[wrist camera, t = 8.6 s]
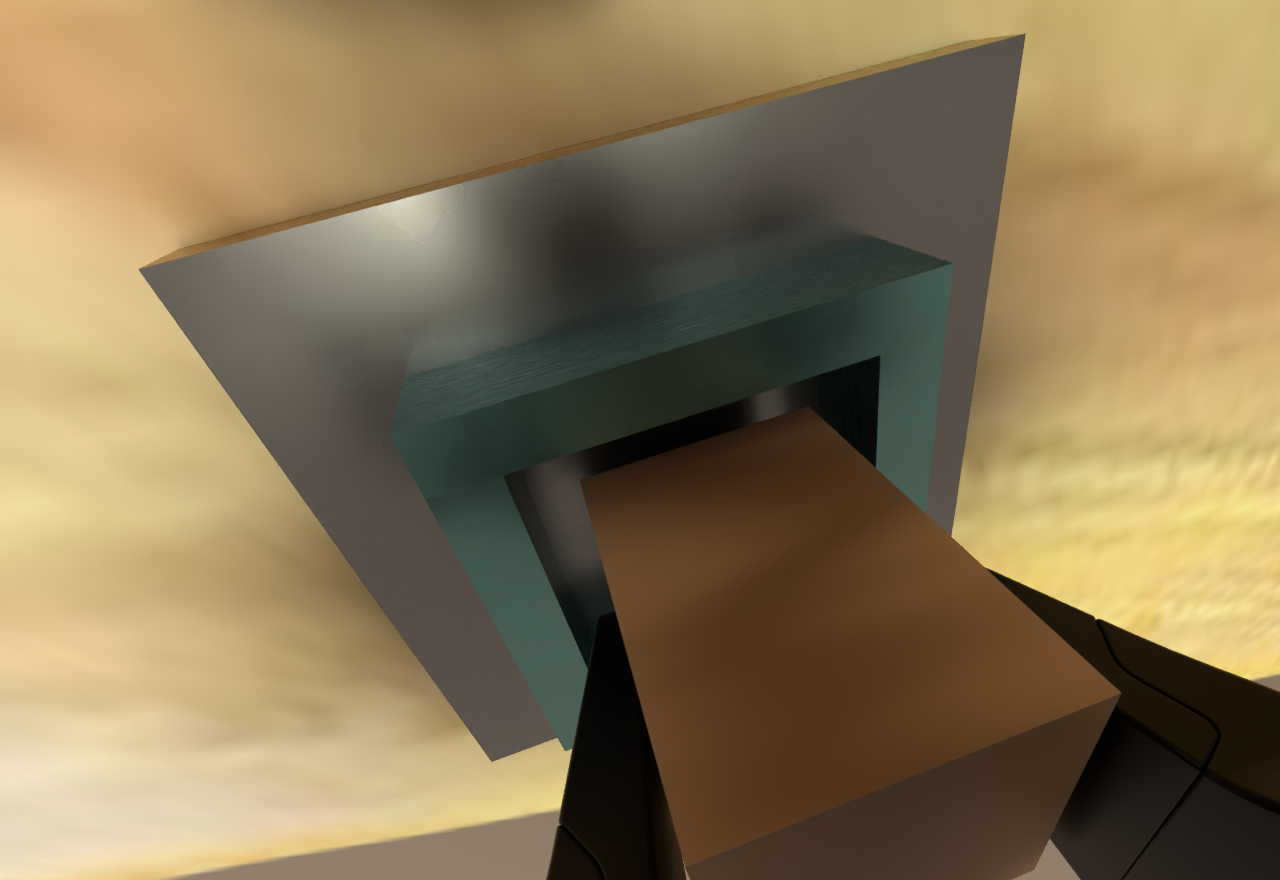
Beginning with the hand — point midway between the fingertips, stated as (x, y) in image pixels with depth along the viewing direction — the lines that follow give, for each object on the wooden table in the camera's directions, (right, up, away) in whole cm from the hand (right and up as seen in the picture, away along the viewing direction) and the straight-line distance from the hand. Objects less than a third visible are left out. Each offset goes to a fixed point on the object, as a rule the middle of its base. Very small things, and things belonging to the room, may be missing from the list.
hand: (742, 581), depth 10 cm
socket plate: (-1, +2, +3) cm, 4 cm away
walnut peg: (0, +1, +1) cm, 2 cm away
